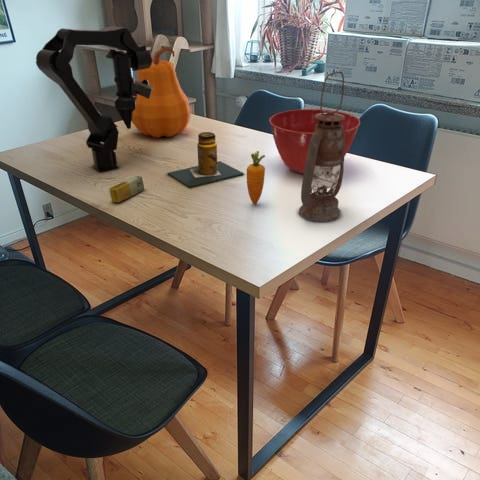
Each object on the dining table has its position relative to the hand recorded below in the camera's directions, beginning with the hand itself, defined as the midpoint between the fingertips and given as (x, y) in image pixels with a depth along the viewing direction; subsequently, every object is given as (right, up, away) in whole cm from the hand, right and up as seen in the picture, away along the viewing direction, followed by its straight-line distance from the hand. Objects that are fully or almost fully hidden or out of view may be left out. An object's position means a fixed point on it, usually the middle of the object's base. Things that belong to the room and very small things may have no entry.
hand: (129, 124), depth 164 cm
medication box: (+4, -29, -21) cm, 36 cm away
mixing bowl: (+60, -15, -1) cm, 62 cm away
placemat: (+26, -19, -6) cm, 32 cm away
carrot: (+41, -33, -25) cm, 58 cm away
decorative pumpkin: (+6, +9, +31) cm, 32 cm away
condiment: (+26, -18, -6) cm, 32 cm away
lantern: (+58, -36, -30) cm, 75 cm away
